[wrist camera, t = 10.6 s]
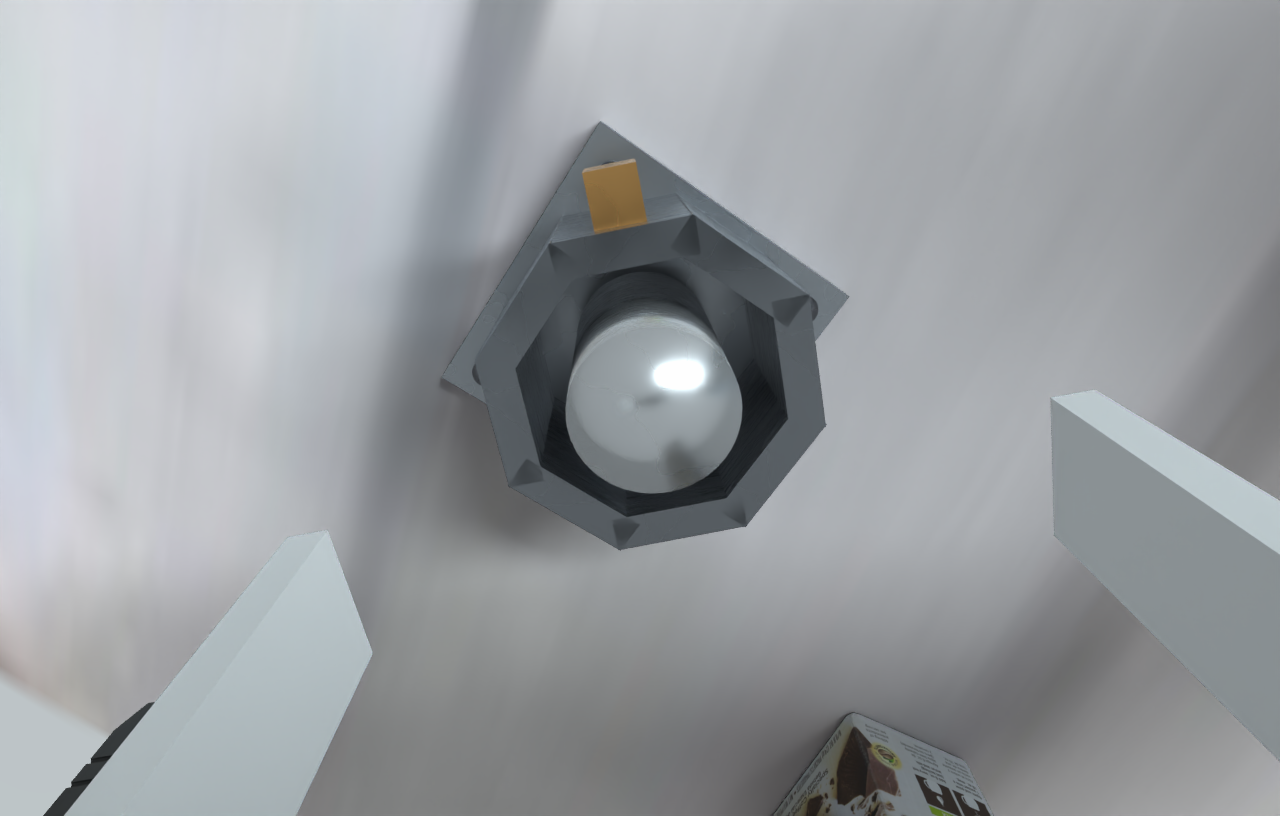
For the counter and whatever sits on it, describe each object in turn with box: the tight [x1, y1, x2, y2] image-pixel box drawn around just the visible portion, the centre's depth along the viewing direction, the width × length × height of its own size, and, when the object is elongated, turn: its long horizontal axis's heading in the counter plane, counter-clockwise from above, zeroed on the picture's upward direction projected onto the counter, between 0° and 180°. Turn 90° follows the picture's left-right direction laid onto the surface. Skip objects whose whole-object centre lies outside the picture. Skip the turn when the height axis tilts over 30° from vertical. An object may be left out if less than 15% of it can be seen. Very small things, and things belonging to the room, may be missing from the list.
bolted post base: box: [442, 121, 849, 493], centre depth 25 cm, size 10×10×8 cm
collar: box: [474, 159, 826, 550], centre depth 25 cm, size 10×9×6 cm
